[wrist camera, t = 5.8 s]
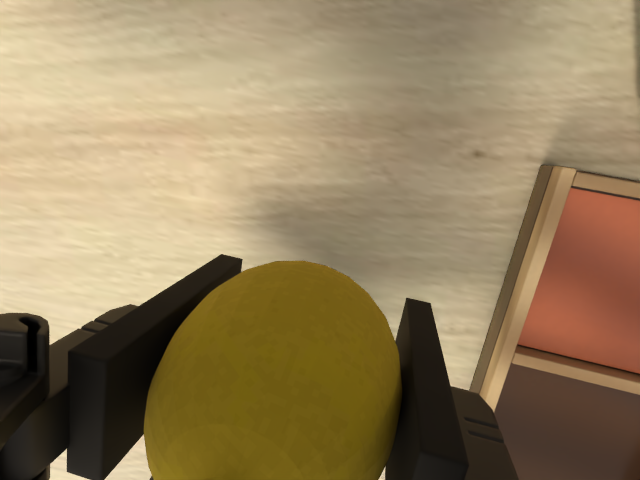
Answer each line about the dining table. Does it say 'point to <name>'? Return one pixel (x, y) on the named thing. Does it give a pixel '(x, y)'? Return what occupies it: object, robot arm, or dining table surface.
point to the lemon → (277, 382)
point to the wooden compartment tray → (570, 332)
